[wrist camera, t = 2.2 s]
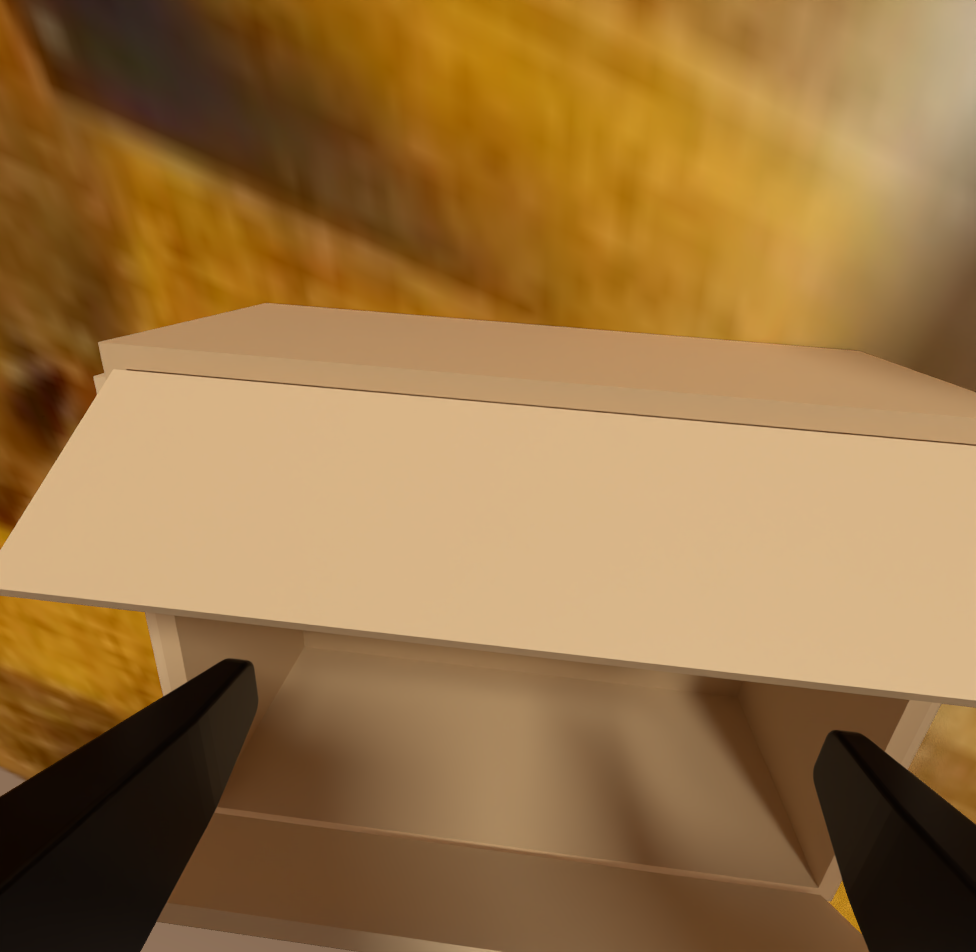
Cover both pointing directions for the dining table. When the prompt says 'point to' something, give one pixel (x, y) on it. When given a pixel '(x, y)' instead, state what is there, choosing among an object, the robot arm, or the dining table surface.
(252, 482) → the tan cardboard box flap
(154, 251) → the dining table surface
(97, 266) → the dining table surface
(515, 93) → the dining table surface
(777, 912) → the flap camera side
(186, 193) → the dining table surface
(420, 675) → the carton
